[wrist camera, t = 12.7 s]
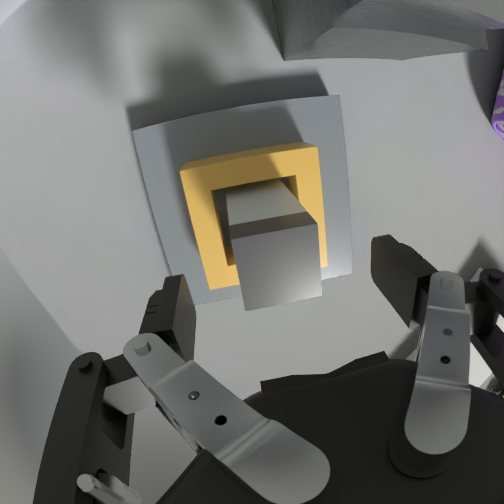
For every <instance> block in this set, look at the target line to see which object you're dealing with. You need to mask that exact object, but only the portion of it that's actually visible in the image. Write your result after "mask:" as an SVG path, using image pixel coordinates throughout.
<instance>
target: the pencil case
mask: <svg viewBox="0 0 504 504" xmlns="http://www.w3.org/2000/svg"><path fill="white" fill-rule="evenodd" d="M491 123H492V125H493V128H494V130H495V131H496V132H497V133H498V134H499V135H500V136H501V137H502V138H503V139H504V70H503V74H502V78H501V82H500V86H499V89H498V93H497V97H496V103H495V106H494V110H493V115H492V119H491Z"/></svg>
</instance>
